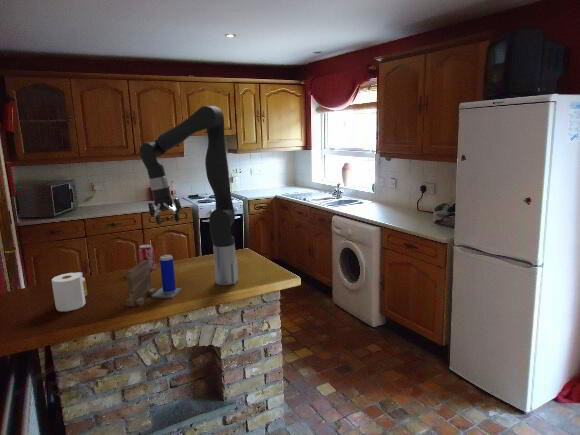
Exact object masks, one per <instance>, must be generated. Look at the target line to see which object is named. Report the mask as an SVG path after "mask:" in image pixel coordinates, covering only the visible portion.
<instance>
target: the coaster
mask: <svg viewBox="0 0 580 435" xmlns="http://www.w3.org/2000/svg"><path fill="white" fill-rule="evenodd" d="M181 291H182V287H176V290H175V291H174V292H171V293H165V292H164V291H163V287H160V288H159V289H158V290H156V292H155V293H154V294H153V295H152V296H151V298H153V299H154V298H155V299H174V298H175V297H176V296H177V295H178V294H179V293H180V292H181Z"/></svg>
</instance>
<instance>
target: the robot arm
mask: <svg viewBox="0 0 580 435" xmlns="http://www.w3.org/2000/svg"><path fill="white" fill-rule="evenodd" d="M224 116H225V115H224V113H223V110H222V109H221V108H220V107H218V106H215V105H202V106H201V107H199V108H198V109H197V110H196V111H194V113H192V114H191V115H190V116H189V117H188V118H187V117H186V119H185V120H183V121H182V122H180V123H179V124H177V125H176V126H174V127H173V128H171V129H168V130H167V131H165V132H163V133H162V134H160V135H159V136H158V137H157V139H155V140H153V141H147V142H143V143H141V144H140V146H139V149H138V150H139V156H140V159H141V161H142V162H143V165H144V167H145V168H146V171H147V175H148V179H149V184H150V185H149V186H150V189H151V193H152V194H151V195H152V197H153V200H154V201H150V202H148V203H147V205H148V211H149V215H150V216H151V217H154V218H155V221H156V224H157V225H162V220H161V212H162V211H167V210H168V211H170V212H172V214H173V216H174V221H175V223H178V222H179V221H180V218H181V217H180V214H179V213H180V212H181V211H182V210H183V208H182V206H181V202H180V199H179V197H176V198H172V195H171V190H170V186H169V182H168V178H167V176H166V171H165V166H164V164H162V163H161V162H158V159H157V158H159V157H161V156H162V155H164V154H166V153H167V152H168V151H169V150H171V149H173V148H175V147H178V146H179V145H181V144H182V143H183V142H184V141H186V140H187V139H188V138H189V137H190V136H192V135H193V134H195V133H198V132H200V131H204V130H206V133H207V148H206V154H205V158H204V159H205V161H204V162H205V163H204V164H205V171H206V178H207V181H208V183H209V186H210V188H211V190H212V192H213V196H214V202H215V209H214V210H213V211H212V212H211V213H210V215H209V218H208V219H209V220H208V221H209V232H210V238H211V241H212V247H213V248H212V249H213V261H214V274H215V284H216V285H219V286H231V285H236V283H237V282H238V281H239V270H238V269H239V268H238V259H237V258H236V246H235V245H236V243H235V241H236V240H235V237H234V236H233V235H232V229H231V228H232V225H233V224H234V223H235V219H236V213H235V212H236V211H235V208H234V204H233V200H232V199H233V198H232V194H231V184H230V183H231V182H230V173H229V163H228V156H227V148H226V140H225V117H224ZM155 206H156V209H155Z"/></svg>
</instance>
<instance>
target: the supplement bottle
mask: <svg viewBox="0 0 580 435" xmlns="http://www.w3.org/2000/svg"><path fill="white" fill-rule="evenodd" d="M76 273H79V274H81V275H82V281H83V288H84V295H85V297H86V296H87V295H88V290H87V283H86V279H85V277H83V272H81V271H80V272H79V271H78V272H76Z"/></svg>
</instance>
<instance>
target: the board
mask: <svg viewBox="0 0 580 435" xmlns="http://www.w3.org/2000/svg"><path fill="white" fill-rule="evenodd" d="M125 272H126V279H127V280H126V281H127V288H128V295H129V296H128V297H129V298H127V299H126V300H125V304H126V306H130V307H136V306H137V307H141V306H142V305H144V303H145V299H146V298H147V297H149V296H152V295H153V294H154V293H155V292H157V289H156V288H154V287H153V286H152V278H151V271H150V268H149V260H144V261H142V262H141V263H140V262H138V263H137V264H136V265H134V266H133V267H131V268H130V269H128V270H127V271H125Z"/></svg>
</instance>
